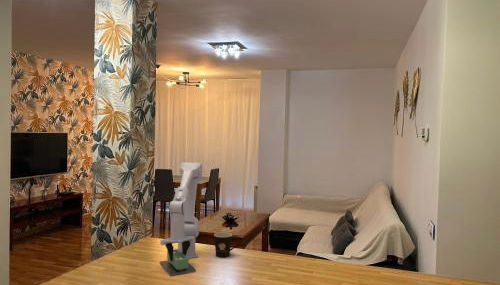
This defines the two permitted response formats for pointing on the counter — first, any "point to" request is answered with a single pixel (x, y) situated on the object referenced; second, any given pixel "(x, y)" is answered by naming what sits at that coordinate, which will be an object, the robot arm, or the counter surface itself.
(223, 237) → the coffee mug
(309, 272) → the counter surface
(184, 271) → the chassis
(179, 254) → the green block with holes
